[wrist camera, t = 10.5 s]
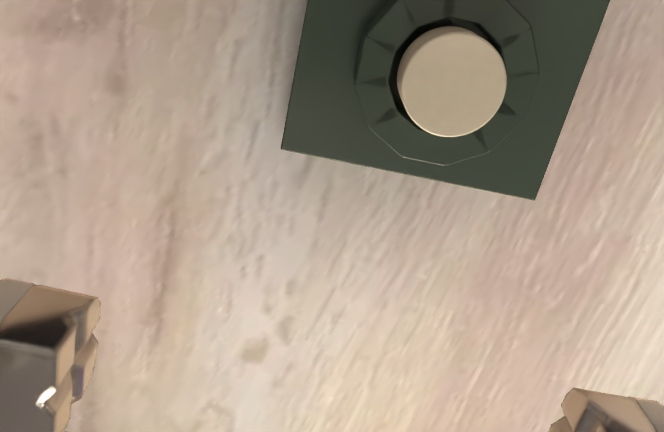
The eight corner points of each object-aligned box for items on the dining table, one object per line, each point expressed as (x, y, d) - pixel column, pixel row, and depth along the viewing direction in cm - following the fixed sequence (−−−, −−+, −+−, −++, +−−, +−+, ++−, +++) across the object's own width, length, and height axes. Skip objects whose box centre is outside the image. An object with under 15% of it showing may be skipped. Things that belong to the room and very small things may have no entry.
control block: (284, 134, 27) (276, 164, 23) (325, -87, 23) (323, -93, 20) (520, 182, 28) (548, 218, 24) (595, -24, 24) (640, -18, 21)
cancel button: (386, 113, 23) (390, 126, 21) (410, 15, 21) (417, 21, 20) (477, 132, 23) (488, 146, 22) (508, 37, 22) (521, 45, 20)
